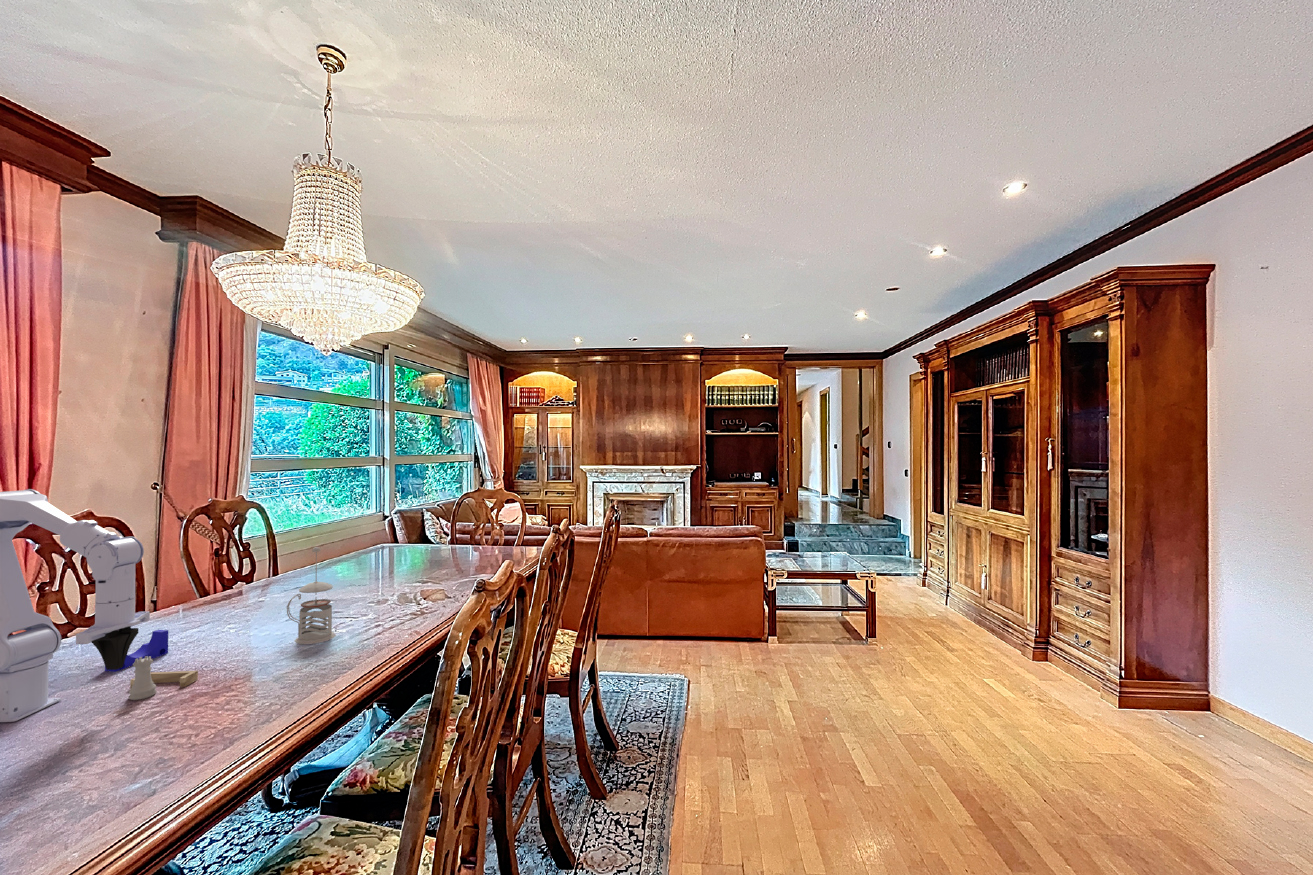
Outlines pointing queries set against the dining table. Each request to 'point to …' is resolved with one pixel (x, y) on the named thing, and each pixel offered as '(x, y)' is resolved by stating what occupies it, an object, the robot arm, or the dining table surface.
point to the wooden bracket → (172, 677)
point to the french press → (314, 614)
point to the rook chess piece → (142, 680)
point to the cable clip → (149, 649)
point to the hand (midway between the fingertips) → (114, 668)
